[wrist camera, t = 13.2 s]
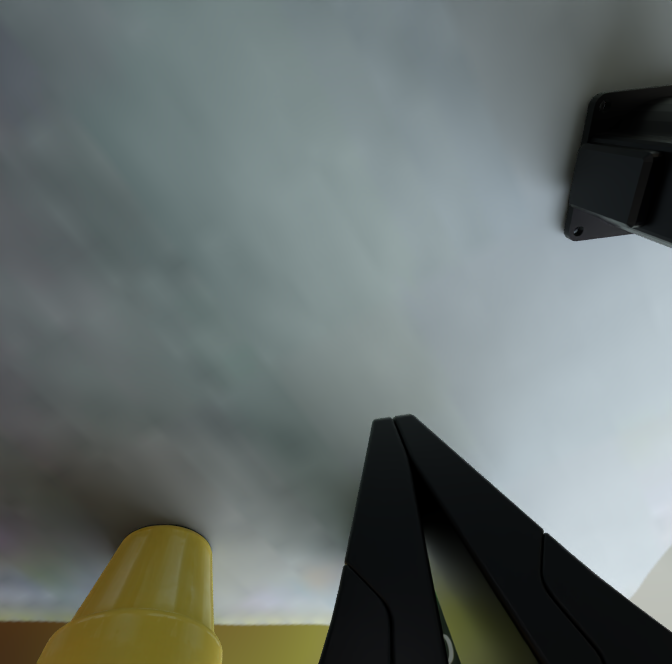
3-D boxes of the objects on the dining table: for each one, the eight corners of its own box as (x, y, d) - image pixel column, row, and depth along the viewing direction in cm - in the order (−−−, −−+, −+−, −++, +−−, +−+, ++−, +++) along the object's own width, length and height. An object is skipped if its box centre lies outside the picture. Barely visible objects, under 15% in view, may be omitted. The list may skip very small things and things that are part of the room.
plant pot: (59, 530, 28) (-40, 715, 20) (198, 489, 27) (158, 662, 19) (138, 601, 33) (86, 772, 25) (256, 569, 33) (245, 732, 24)
